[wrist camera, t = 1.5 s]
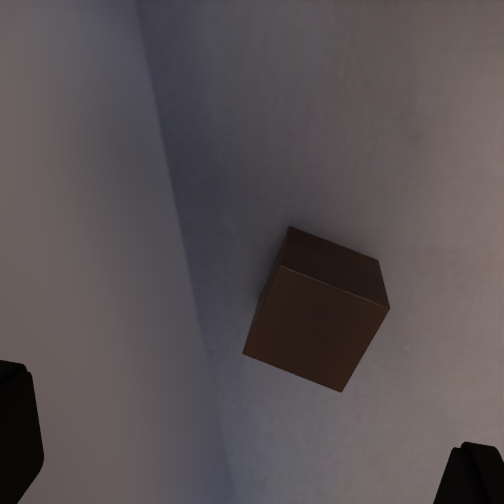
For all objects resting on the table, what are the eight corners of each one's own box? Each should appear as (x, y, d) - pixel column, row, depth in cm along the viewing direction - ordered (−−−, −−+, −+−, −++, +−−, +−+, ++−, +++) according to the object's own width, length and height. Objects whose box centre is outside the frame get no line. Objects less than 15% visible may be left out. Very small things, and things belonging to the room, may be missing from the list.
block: (257, 302, 25) (241, 354, 21) (289, 225, 23) (279, 264, 19) (339, 334, 25) (341, 393, 21) (378, 260, 23) (390, 307, 19)
